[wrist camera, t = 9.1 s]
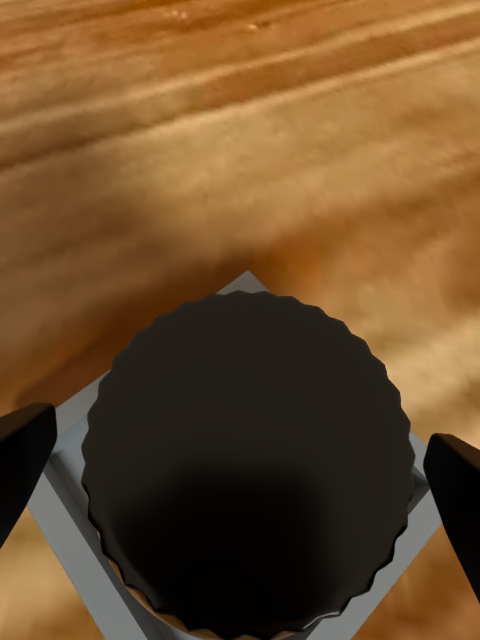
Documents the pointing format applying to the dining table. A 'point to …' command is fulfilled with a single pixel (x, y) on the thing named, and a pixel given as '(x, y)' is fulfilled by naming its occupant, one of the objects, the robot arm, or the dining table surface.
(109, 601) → the grey tray
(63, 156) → the dining table surface
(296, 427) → the supplement bottle
